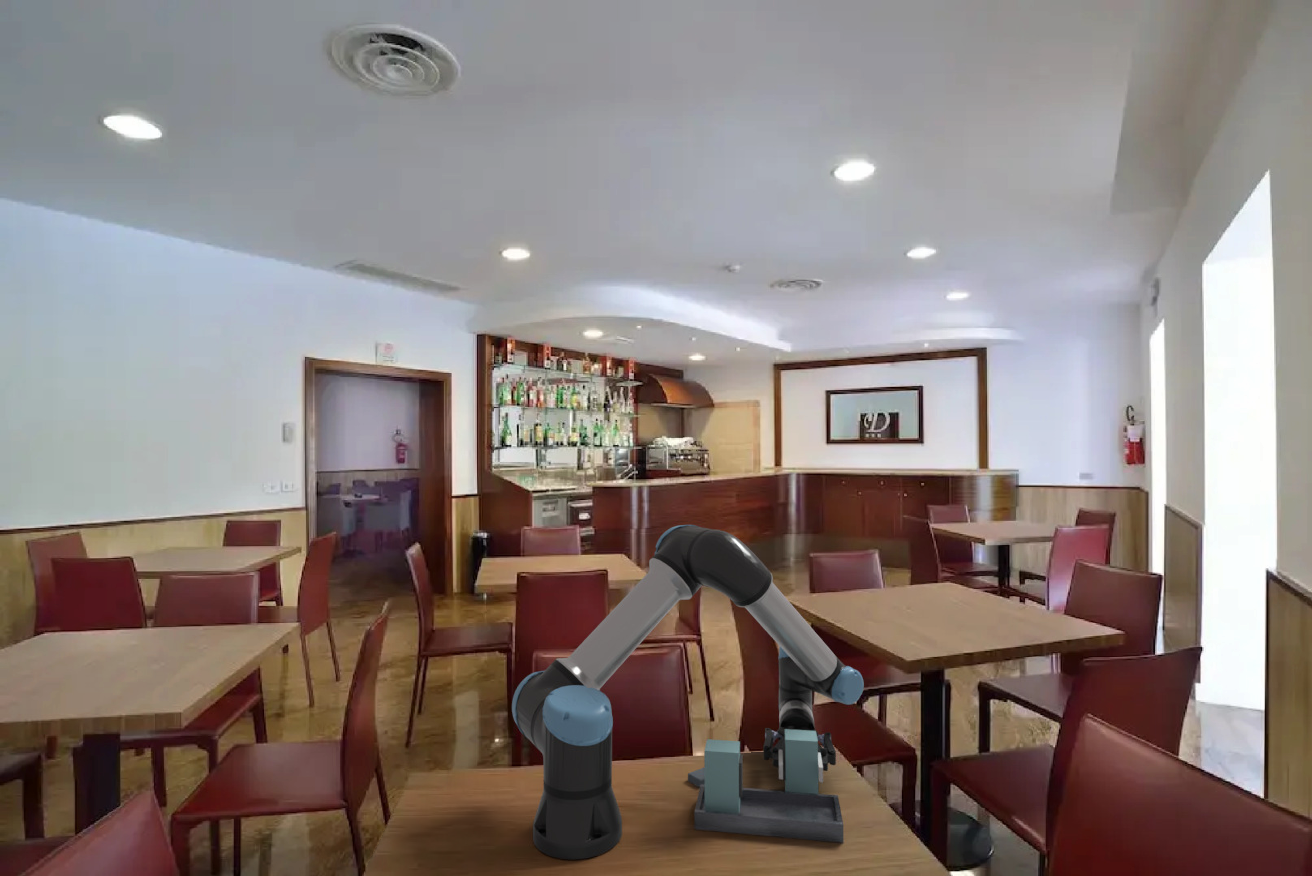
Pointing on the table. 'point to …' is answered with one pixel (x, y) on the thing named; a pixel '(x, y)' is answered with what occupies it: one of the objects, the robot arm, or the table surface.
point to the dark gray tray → (776, 815)
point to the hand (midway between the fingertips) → (800, 773)
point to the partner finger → (723, 775)
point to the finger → (800, 761)
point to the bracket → (697, 777)
